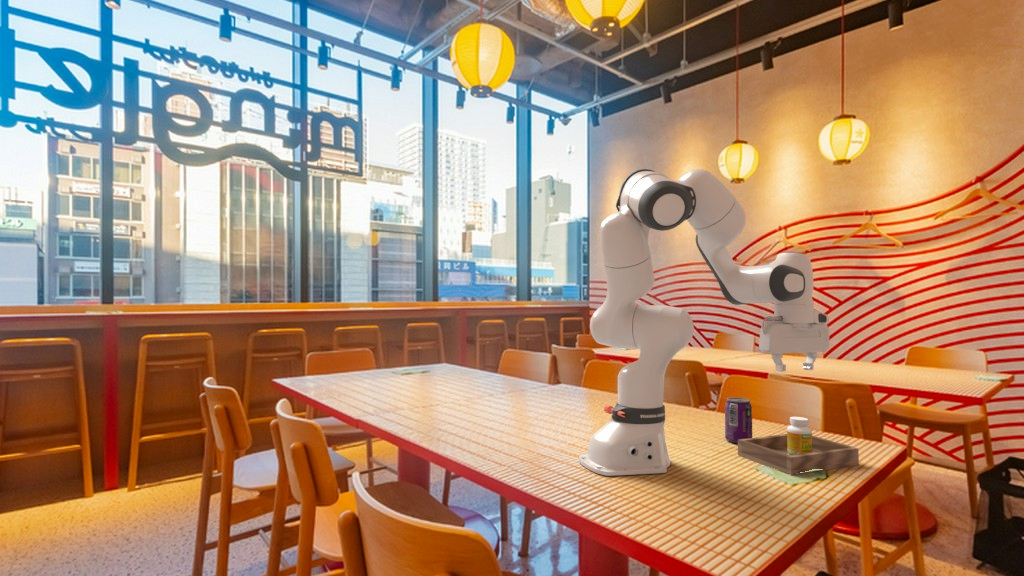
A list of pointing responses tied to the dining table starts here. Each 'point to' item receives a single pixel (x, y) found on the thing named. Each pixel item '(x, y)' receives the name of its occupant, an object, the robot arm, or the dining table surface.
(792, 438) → the supplement bottle
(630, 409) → the robot arm
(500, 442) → the dining table surface
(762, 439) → the serving tray
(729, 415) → the beverage can
